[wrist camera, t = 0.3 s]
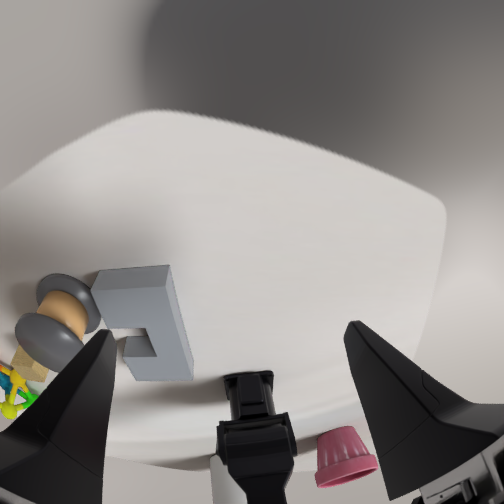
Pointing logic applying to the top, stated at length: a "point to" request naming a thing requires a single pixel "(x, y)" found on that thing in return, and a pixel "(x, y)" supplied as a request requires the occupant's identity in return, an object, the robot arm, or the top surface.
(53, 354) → the bobbin
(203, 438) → the top surface
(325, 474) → the plant pot
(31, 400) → the molecular model
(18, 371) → the tan wooden block
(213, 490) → the cylinder vase
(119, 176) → the top surface
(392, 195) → the top surface
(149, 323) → the notch board
